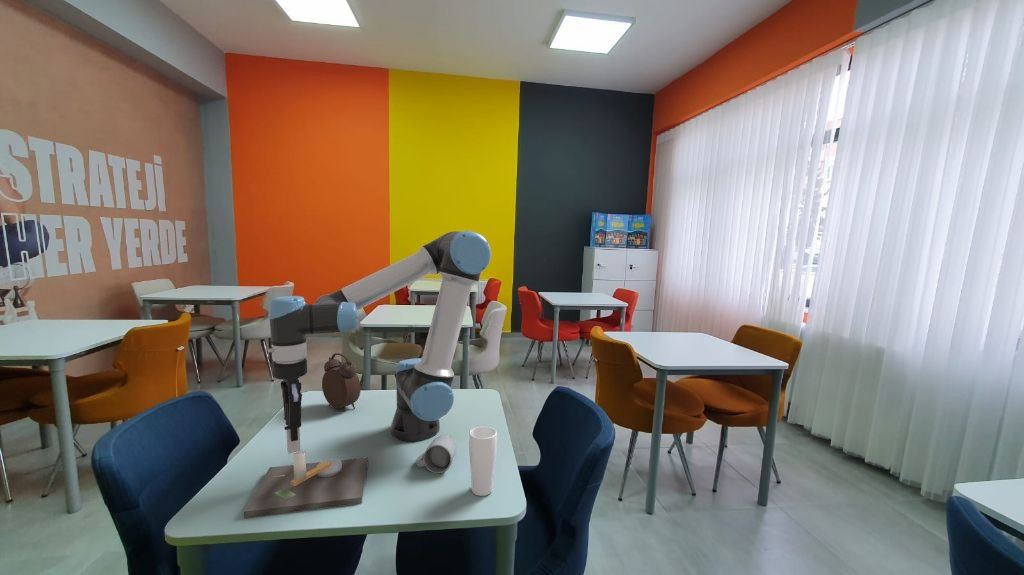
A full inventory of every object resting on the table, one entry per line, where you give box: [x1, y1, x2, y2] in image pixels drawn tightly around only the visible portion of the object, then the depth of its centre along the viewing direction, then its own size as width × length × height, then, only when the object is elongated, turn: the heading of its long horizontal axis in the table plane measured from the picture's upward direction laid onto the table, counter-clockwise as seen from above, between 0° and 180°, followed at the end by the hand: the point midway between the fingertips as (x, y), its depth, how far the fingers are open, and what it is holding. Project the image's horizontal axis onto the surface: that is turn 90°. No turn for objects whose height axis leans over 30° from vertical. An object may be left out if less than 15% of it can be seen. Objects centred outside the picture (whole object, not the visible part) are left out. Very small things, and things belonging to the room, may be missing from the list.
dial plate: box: [243, 456, 369, 519], centre depth 101 cm, size 24×18×2 cm
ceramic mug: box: [415, 434, 457, 474], centre depth 112 cm, size 11×8×8 cm
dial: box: [291, 450, 342, 486], centre depth 102 cm, size 13×6×8 cm, turn 153°
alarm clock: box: [321, 352, 362, 412], centre depth 147 cm, size 14×7×20 cm, turn 59°
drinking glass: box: [468, 425, 498, 497], centre depth 101 cm, size 7×7×15 cm
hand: (293, 450), depth 104 cm, fingers closed
